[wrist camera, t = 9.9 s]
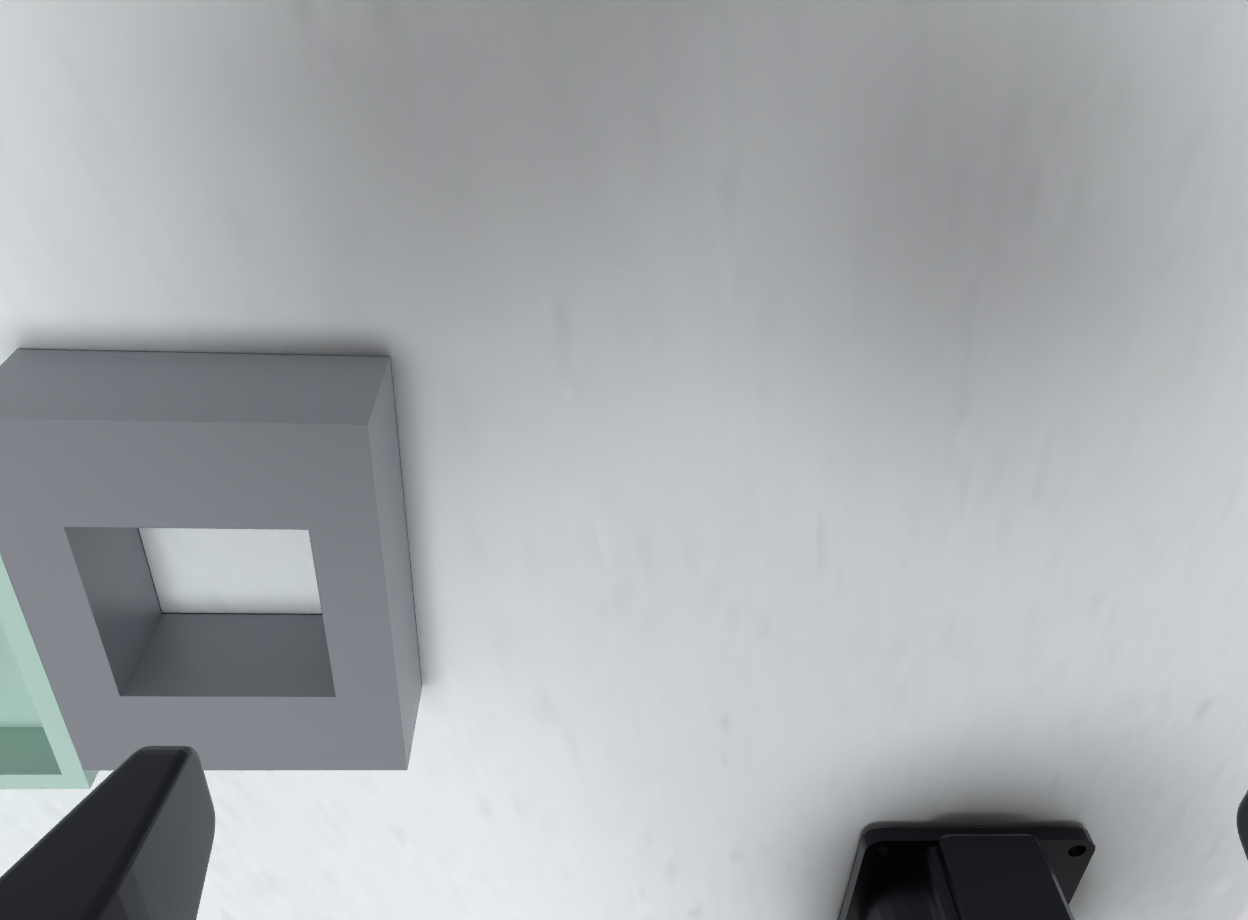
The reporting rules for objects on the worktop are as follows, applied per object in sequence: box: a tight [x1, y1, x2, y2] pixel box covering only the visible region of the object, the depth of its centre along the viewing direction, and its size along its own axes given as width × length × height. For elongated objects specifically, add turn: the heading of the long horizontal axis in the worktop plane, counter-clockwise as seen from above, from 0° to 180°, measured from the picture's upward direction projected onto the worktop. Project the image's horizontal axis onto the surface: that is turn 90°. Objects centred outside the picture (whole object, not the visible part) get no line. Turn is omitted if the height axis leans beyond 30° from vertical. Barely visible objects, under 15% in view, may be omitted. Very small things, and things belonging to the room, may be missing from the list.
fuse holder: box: [0, 349, 422, 770], centre depth 21 cm, size 9×7×2 cm
